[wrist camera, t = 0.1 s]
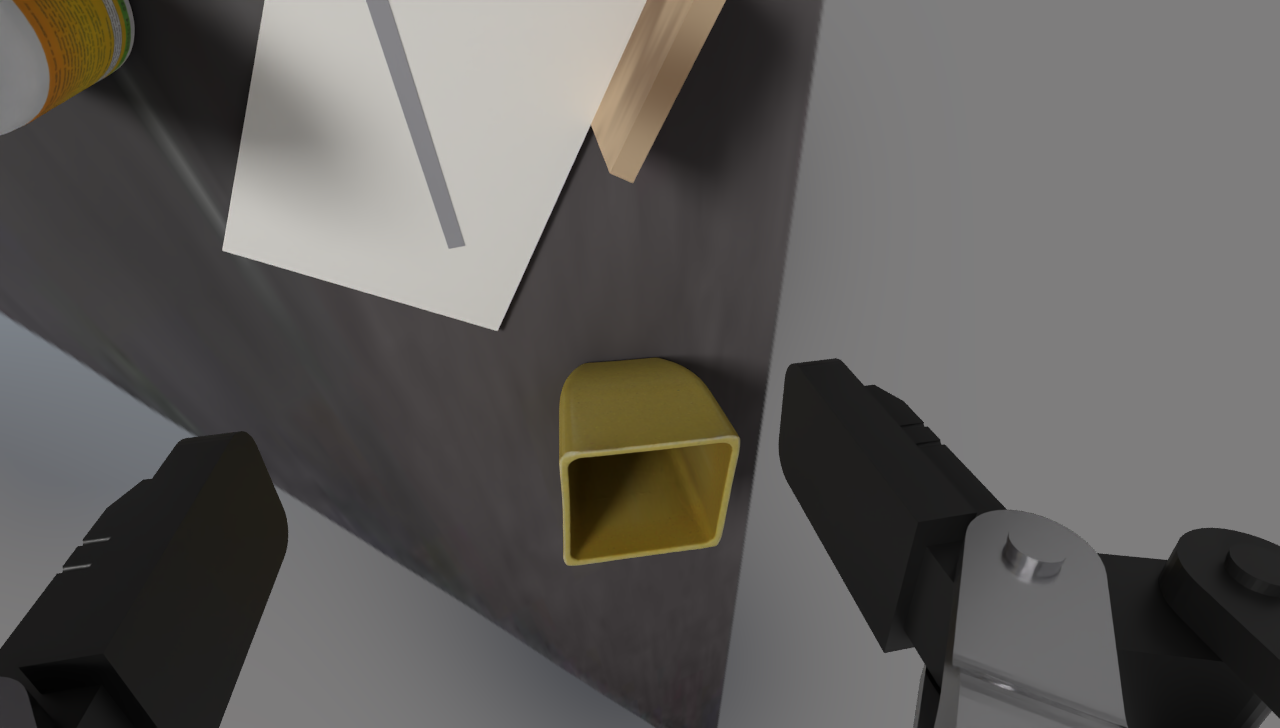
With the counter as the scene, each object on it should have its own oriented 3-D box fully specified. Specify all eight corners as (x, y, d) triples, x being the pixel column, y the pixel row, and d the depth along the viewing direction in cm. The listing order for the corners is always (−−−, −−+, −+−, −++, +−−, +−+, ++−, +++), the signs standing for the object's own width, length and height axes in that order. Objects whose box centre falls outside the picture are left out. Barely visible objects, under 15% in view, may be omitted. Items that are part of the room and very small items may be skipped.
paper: (304, -218, 21) (301, -219, 21) (651, -15, 26) (653, -14, 26) (224, 247, 30) (222, 250, 29) (497, 327, 35) (497, 331, 35)
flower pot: (682, 436, 43) (720, 548, 36) (551, 450, 41) (564, 570, 35) (695, 328, 38) (743, 435, 31) (544, 338, 36) (558, 455, 29)
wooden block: (675, -68, 25) (717, -49, 21) (697, -53, 26) (744, -32, 21) (590, 122, 29) (609, 173, 25) (611, 131, 30) (634, 183, 25)
